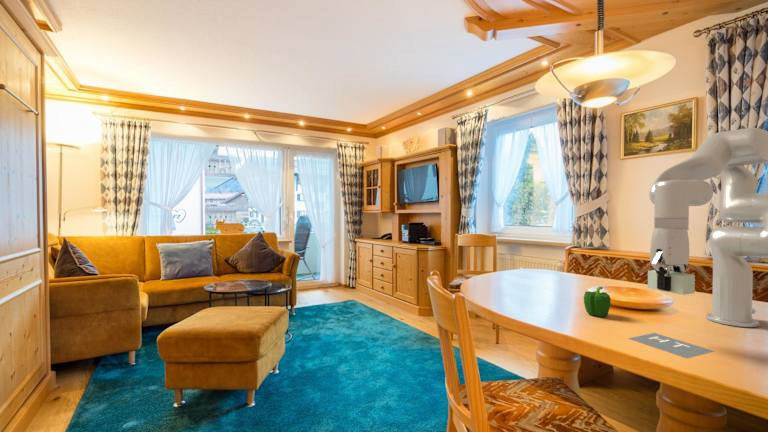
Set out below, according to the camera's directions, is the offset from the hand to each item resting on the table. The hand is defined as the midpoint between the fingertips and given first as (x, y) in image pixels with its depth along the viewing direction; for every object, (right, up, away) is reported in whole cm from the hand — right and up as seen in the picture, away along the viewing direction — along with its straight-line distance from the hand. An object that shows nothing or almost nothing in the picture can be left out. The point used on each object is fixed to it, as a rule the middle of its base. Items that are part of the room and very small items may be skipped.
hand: (670, 288), depth 101 cm
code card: (-1, -15, -1) cm, 15 cm away
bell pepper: (-5, -15, +26) cm, 31 cm away
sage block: (0, -1, 0) cm, 1 cm away
